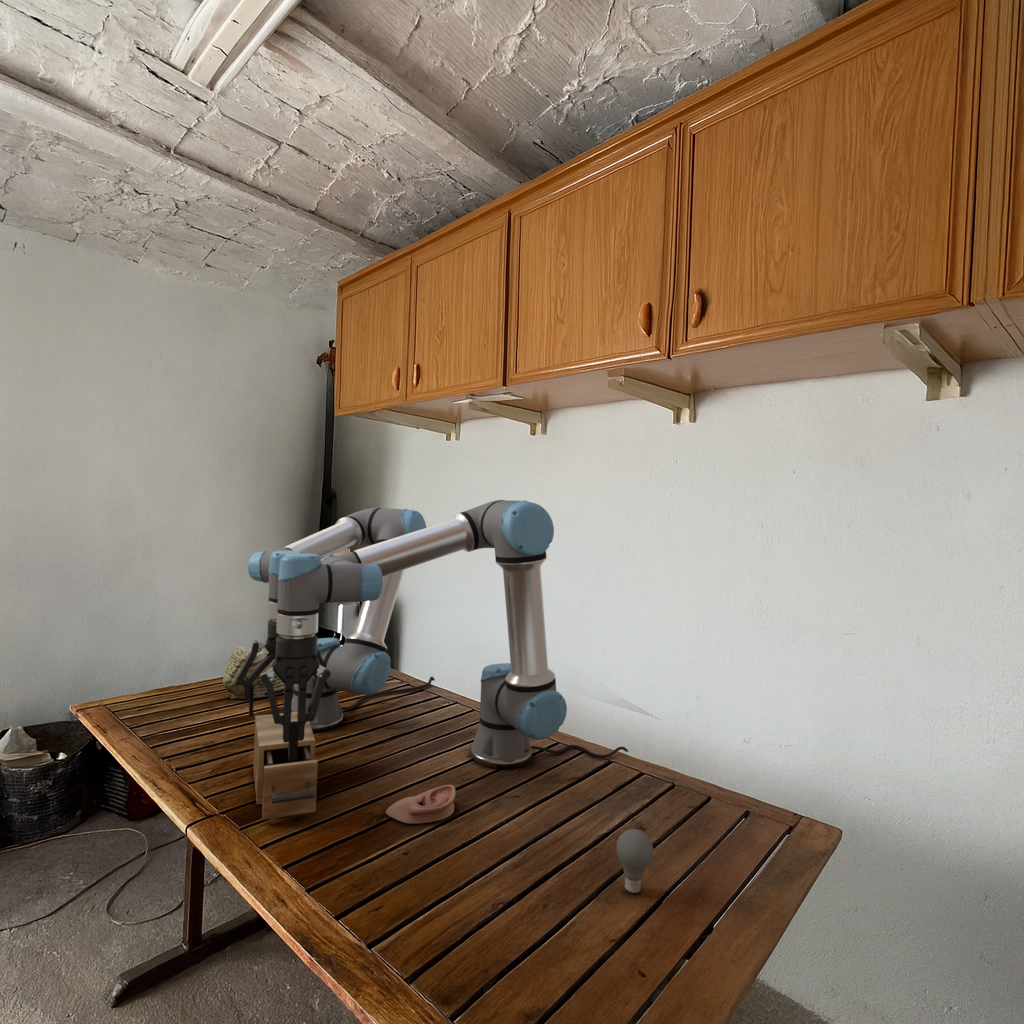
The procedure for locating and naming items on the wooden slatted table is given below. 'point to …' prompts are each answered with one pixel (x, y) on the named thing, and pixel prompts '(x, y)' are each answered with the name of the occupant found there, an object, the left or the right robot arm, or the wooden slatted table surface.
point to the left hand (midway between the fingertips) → (283, 711)
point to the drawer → (288, 783)
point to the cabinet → (274, 745)
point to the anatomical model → (424, 806)
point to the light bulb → (634, 857)
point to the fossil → (234, 668)
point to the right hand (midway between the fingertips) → (292, 757)
